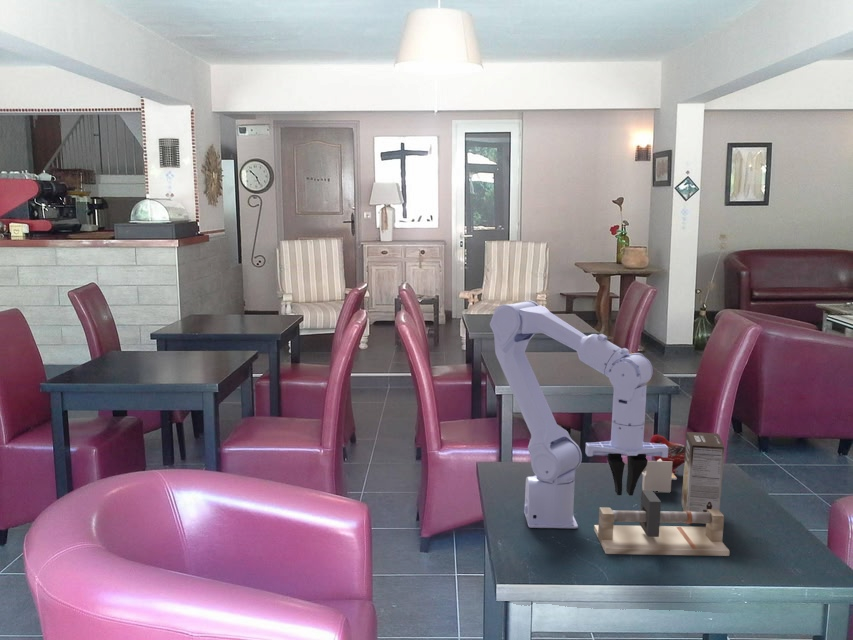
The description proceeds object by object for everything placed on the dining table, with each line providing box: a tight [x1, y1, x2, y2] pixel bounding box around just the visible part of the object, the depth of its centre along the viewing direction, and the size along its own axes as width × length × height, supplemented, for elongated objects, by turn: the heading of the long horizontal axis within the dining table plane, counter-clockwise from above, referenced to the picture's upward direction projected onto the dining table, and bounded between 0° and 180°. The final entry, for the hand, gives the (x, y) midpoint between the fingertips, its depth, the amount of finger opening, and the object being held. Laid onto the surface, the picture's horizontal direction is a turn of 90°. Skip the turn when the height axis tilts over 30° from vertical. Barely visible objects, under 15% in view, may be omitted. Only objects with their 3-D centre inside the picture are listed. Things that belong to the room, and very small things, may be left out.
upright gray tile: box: [639, 489, 662, 537], centre depth 139 cm, size 2×5×7 cm, turn 0°
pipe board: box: [593, 506, 730, 557], centre depth 139 cm, size 22×10×6 cm, turn 90°
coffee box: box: [681, 431, 726, 525], centre depth 151 cm, size 9×6×16 cm
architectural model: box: [641, 459, 678, 493], centre depth 166 cm, size 3×7×7 cm, turn 88°
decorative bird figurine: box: [648, 434, 685, 474], centre depth 176 cm, size 3×18×10 cm, turn 112°
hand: (624, 493), depth 138 cm, fingers closed
